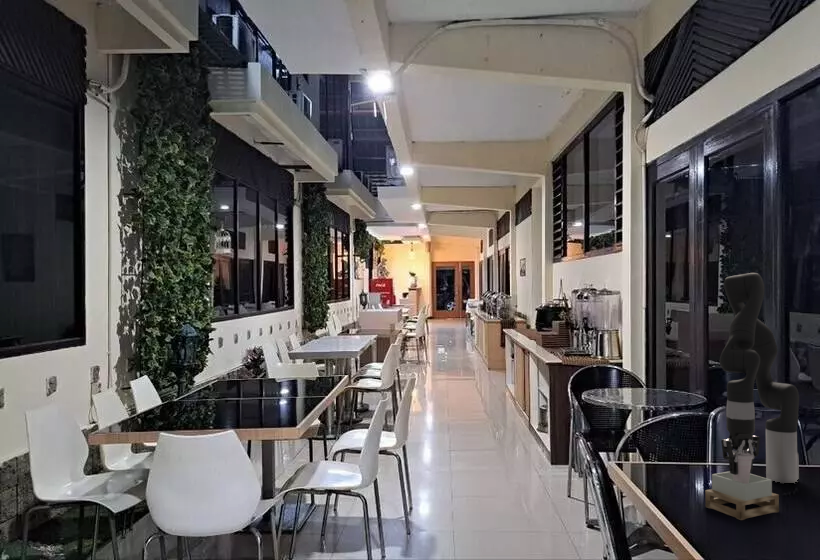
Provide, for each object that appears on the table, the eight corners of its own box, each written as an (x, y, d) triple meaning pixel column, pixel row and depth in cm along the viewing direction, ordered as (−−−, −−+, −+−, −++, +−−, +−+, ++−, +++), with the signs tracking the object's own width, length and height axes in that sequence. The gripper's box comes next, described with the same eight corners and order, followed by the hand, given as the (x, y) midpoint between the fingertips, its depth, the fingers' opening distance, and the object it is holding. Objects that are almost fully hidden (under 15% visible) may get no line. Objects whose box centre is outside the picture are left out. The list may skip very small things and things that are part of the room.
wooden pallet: (742, 499, 194) (742, 483, 194) (778, 511, 183) (778, 494, 183) (705, 506, 187) (705, 490, 187) (741, 520, 176) (741, 502, 177)
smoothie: (756, 490, 182) (756, 442, 182) (732, 488, 183) (732, 440, 183) (749, 483, 188) (749, 437, 188) (726, 482, 189) (726, 436, 190)
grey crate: (737, 484, 193) (737, 469, 193) (771, 495, 182) (771, 479, 183) (712, 489, 188) (712, 474, 188) (745, 500, 178) (745, 484, 178)
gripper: (745, 411, 192) (746, 466, 192) (712, 415, 186) (713, 472, 186) (768, 416, 185) (769, 473, 185) (734, 420, 179) (735, 479, 179)
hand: (741, 472), depth 186 cm, fingers closed on smoothie, 5 cm apart
